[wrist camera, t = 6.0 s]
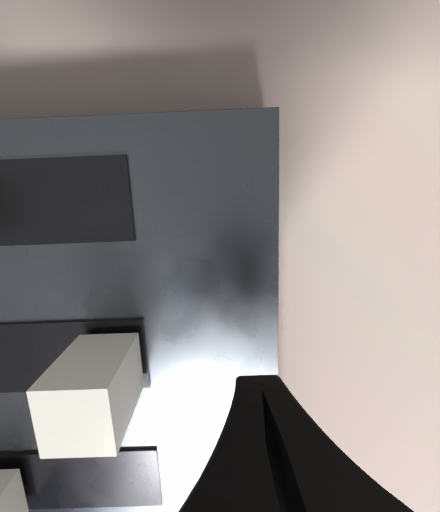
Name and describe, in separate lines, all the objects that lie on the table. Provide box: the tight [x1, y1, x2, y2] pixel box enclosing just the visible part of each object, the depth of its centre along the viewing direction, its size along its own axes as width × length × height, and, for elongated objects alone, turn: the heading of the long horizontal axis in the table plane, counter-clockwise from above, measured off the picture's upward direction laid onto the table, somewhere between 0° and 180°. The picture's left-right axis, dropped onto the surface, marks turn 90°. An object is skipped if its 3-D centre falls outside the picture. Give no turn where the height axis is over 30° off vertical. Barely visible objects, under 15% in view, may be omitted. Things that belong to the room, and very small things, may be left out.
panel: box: [0, 107, 279, 512], centre depth 15 cm, size 19×19×3 cm
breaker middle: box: [26, 333, 144, 459], centre depth 11 cm, size 2×2×4 cm
